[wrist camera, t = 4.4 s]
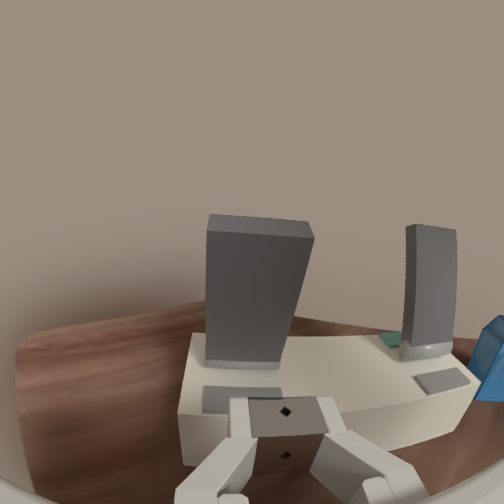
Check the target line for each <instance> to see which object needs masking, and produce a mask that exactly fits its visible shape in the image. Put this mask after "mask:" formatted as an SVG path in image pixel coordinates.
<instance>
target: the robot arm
mask: <svg viewBox="0 0 504 504" xmlns="http://www.w3.org/2000/svg"><path fill="white" fill-rule="evenodd" d="M307 470H309V472H310V473H311V474H312V475H313V476H314V477H315V478H316V479H317V480H319V481H320V482H321V483H322V484H323V485H324V486H325V487H326V488H327V489H328V490H329V491H331V492H332V493H333V494H334V495H335V496H336V497H337V498H338V499H340V500H341V501H342V502H343V503H344V504H504V458H502V459H501V460H499V461H497V462H496V463H494V464H493V465H491V466H489V467H488V468H486V469H484V470H483V471H481V472H479V473H477V474H476V475H474V476H472V477H470V478H468V479H466V480H465V481H463V482H461V483H459V484H457V485H455V486H453V487H451V488H449V489H446V490H444V491H442V492H440V493H438V494H436V495H433V496H431V497H430V496H429V494H428V493H427V491H426V489H425V487H424V485H423V484H422V482H421V480H420V478H419V476H418V475H417V473H416V471H415V469H414V467H413V466H412V465H410V464H408V463H407V462H405V461H403V460H401V459H399V458H398V457H396V456H394V455H392V454H391V453H389V452H387V451H386V450H384V449H382V448H380V447H379V446H377V445H375V444H374V443H372V442H370V441H369V440H367V439H365V438H364V437H362V436H361V435H359V434H357V433H356V432H354V431H353V430H350V431H347V428H346V426H345V424H344V422H343V420H342V417H341V415H340V413H339V411H338V409H337V406H336V404H335V402H334V400H333V397H332V396H331V395H330V394H325V395H314V396H299V397H235V396H229V405H228V422H227V437H225V438H224V439H223V440H222V441H221V442H220V443H219V444H218V446H217V447H216V448H215V449H214V450H213V451H212V452H211V453H210V454H209V455H208V456H207V457H206V458H205V460H204V461H203V462H202V463H201V464H200V465H199V466H198V467H197V468H196V469H195V470H194V471H193V472H192V473H191V474H190V475H189V476H188V477H187V478H186V479H185V480H184V481H183V482H182V483H181V484H180V485H179V486H178V487H177V488H176V490H175V499H174V504H249V500H248V498H247V497H246V496H244V495H242V494H240V492H241V491H242V489H243V488H244V486H245V485H246V483H247V482H248V480H249V479H250V477H251V476H252V474H261V473H276V472H294V471H307ZM0 504H58V503H56V502H53V501H51V500H49V499H46V498H44V497H42V496H39V495H37V494H35V493H33V492H30V491H28V490H26V489H24V488H22V487H20V486H18V485H16V484H14V483H12V482H10V481H9V480H6V479H5V478H3V477H1V476H0Z"/></svg>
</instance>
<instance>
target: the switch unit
mask: <svg viewBox="0 0 504 504" xmlns="http://www.w3.org/2000/svg"><path fill="white" fill-rule="evenodd" d="M401 337H402V332H389V333H379V335H361V336H325V337H287V340H286V343H285V346H284V349H283V353H282V356H281V364H280V368H279V369H238V368H217V367H205V343H206V333H194V332H193V333H192V338H191V343H190V348H189V353H188V358H187V363H186V368H185V374H184V379H183V384H182V390H181V395H180V401H179V407H178V412H177V415H178V425H179V434H180V443H181V451H182V459H183V466H194V467H198V466H199V465H200V464H201V463H202V462H203V461H204V460H205V458H206V457H207V456H208V455H209V454H210V453H211V452H212V451H213V450H214V449H215V448H216V447H217V446H218V444H219V443H220V442H221V441H222V440H223V439H224V438H225V437H227V422H228V405H229V396H235V397H299V396H314V395H325V394H330V395H331V396H332V397H333V400H334V402H335V404H336V406H337V409H338V411H339V413H340V415H341V417H342V420H343V422H344V424H345V426H346V428H347V431H350V430H353V431H354V432H356V433H357V434H359V435H361V436H362V437H364V438H365V439H367V440H369V441H370V442H372V443H374V444H375V445H377V446H379V447H380V448H382V449H384V450H386V451H391V450H395V449H399V448H403V447H406V446H410V445H413V444H417V443H420V442H423V441H426V440H429V439H432V438H435V437H438V436H441V435H444V434H447V433H449V432H452V431H454V429H455V428H456V426H457V424H458V423H459V421H460V420H461V418H462V416H463V415H464V413H465V411H466V410H467V408H468V406H469V404H470V403H471V401H472V399H473V397H474V395H475V393H476V392H477V390H478V388H479V386H480V384H481V381H479V380H478V379H477V378H476V377H475V376H474V375H473V374H472V373H471V372H470V371H469V370H468V369H467V368H466V367H465V366H464V365H463V364H462V363H461V362H460V361H459V360H458V359H456V358H455V357H454V356H453V355H452V354H451V353H450V354H448V355H443V356H437V357H431V358H424V359H417V360H410V361H402V360H401V359H400V357H399V345H400V343H401Z"/></svg>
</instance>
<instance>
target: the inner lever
mask: <svg viewBox="0 0 504 504" xmlns="http://www.w3.org/2000/svg"><path fill="white" fill-rule="evenodd" d="M456 284H457V240H456V230H454V229H448V228H442V227H435V226H428V225H422V224H413V225H410V226H407V227H406V282H405V301H404V316H403V328H402V337H401V343H400V345H399V357H400V359H401V360H402V361H410V360H417V359H424V358H431V357H437V356H443V355H448V354H450V352H451V351H452V348H453V342H452V337H453V327H454V317H455V305H456V286H457V285H456Z"/></svg>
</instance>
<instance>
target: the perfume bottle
mask: <svg viewBox="0 0 504 504" xmlns="http://www.w3.org/2000/svg"><path fill="white" fill-rule="evenodd" d="M467 369H468V370H469V371H470V372H471V373H472V374H473V375H474V376H475V377H476V378H477V379H478V380H479V381H481V384H480V386H479V388H478V390H477V392H476V393H475V395H474V397H475V400H486V401H504V316H502V315H498V316H497V317H496V318H495V319H494V320H492V321H491V322H490V323H489V324H488V325H487V326H486V327H484V328H483V329H482V332H481V334H480V337H479V339H478V342H477V345H476V347H475V349H474V352H473V354H472V357H471V359H470V361H469V363H468V366H467Z"/></svg>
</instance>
